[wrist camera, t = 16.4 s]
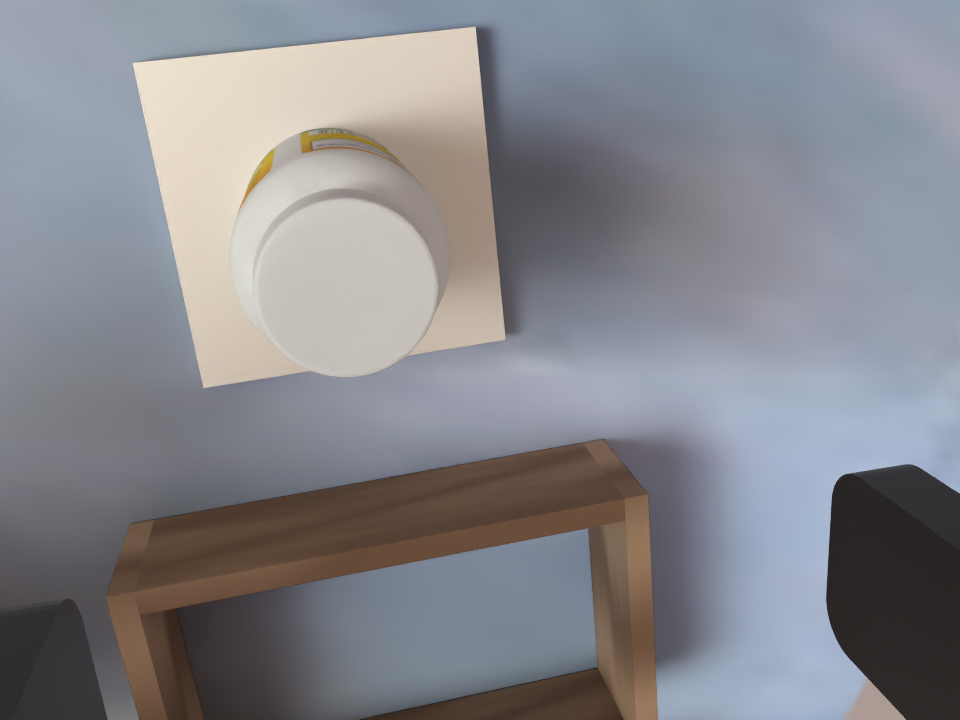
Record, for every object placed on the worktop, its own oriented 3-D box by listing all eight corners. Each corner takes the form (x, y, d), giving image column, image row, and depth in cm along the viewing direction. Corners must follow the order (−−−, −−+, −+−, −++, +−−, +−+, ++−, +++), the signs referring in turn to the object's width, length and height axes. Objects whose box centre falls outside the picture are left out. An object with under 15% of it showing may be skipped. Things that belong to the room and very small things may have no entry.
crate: (130, 523, 31) (104, 597, 27) (603, 439, 34) (648, 494, 29) (195, 773, 35) (182, 872, 30) (617, 679, 37) (659, 759, 33)
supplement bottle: (366, 94, 28) (404, 115, 19) (445, 250, 30) (513, 335, 21) (207, 177, 27) (169, 238, 18) (296, 327, 29) (301, 448, 20)
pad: (135, 62, 27) (132, 62, 26) (471, 27, 28) (475, 26, 28) (205, 381, 30) (203, 388, 29) (501, 334, 31) (505, 339, 31)
